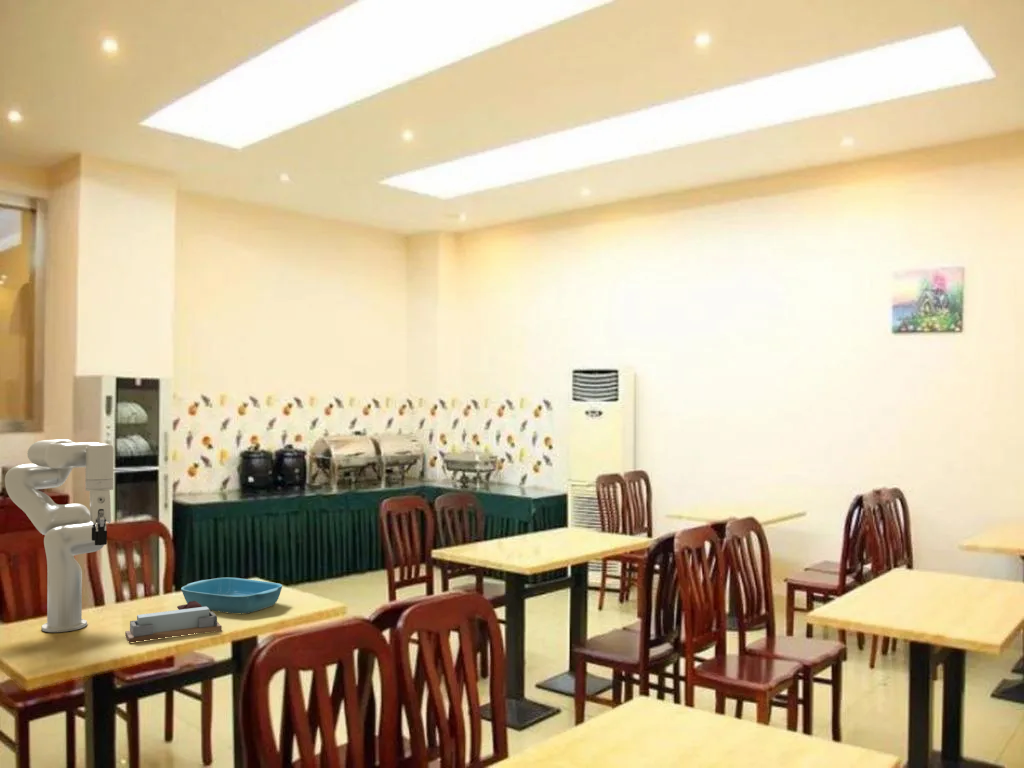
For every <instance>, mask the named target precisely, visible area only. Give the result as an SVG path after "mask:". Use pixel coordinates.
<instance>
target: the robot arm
mask: <svg viewBox="0 0 1024 768" xmlns="http://www.w3.org/2000/svg"><path fill="white" fill-rule="evenodd" d="M26 454H27V458H28V460H29V462H31V463H25V464H19V465H15V466H13V467H11V468H9V469H8V470H7V472H6V474H5V475H4V486H5V489H6V492H7V495H8V497H9V498H10V500H11V501H12V502H13V504H15V505H16V506H17V507H18V508H19V509H20V510H22V511H23V513H24V514H26V516H27V517H28V519H29V520H30V521H31V523H32V524H33V526H34V527H35V529H36V530H37V531H38V532H39V533H40V534H42V536H43V535H44V537H43V545H44V546H43V547H44V550H45V551H44V552H45V556H46V565H47V566H46V567H47V570H46V571H47V577H46V579H47V586H46V587H47V595H46V597H47V598H46V599H47V601H46V602H47V604H46V608H47V610H46V611H47V612H46V615H47V616H46V620H47V621H46V622H45V623H44V624H42V625H41V631H43V632H46V633H64V632H72V631H76V630H81V629H83V628H85V627H87V625H88V620H86V619H84V618H82V614H83V611H82V610H83V609H82V604H83V602H82V600H83V599H82V598H83V595H82V594H83V592H82V591H83V581H82V580H83V570H82V567H81V565H80V563H79V562H78V561H77V560H76V558H75V556H77V555H83V554H89V553H90V554H91V553H95V552H99V551H100V550H102V549H103V548H104V546H106V545H107V544H108V530H107V523H108V524H110V523H112V517H111V514H112V513H111V510H112V509H111V491H113V490H114V446H113V445H112V444H111V443H110V444H109V443H102V442H97V441H87V442H75V441H73V440H71V439H69V438H67V439H66V438H65V439H64V438H63V439H44V440H38V441H36V442H34V443H32V444H31V445H30V446H29V448H28V449H27V452H26ZM75 468H85V484H84V485H85V486H84V487H85V491H86V492H89V507H87V506H86V505H84V504H82V503H66V504H58V503H56V502H55V501H54V500H53V499H52V498H51V496H50V495H48V494H46V493H45V492H43V491H41V490H43V489H53V488H54V489H55V488H59V487H61V486H63V485H64V484H65V482H66V481H67V480H68V478H69V476H70V474H71V472H72V470H73V469H75Z"/></svg>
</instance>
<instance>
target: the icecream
mask: <svg viewBox="0 0 1024 768" xmlns="http://www.w3.org/2000/svg"><path fill="white" fill-rule="evenodd" d="M198 607H202V606H201V604H199V603H198V602H197V601H192V602H191V601H190V602H188V604H182V605H178V606H177V610H182V609H190V608H198Z"/></svg>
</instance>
